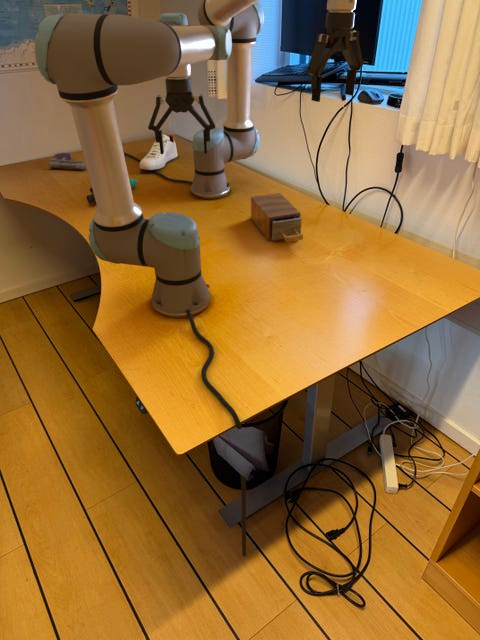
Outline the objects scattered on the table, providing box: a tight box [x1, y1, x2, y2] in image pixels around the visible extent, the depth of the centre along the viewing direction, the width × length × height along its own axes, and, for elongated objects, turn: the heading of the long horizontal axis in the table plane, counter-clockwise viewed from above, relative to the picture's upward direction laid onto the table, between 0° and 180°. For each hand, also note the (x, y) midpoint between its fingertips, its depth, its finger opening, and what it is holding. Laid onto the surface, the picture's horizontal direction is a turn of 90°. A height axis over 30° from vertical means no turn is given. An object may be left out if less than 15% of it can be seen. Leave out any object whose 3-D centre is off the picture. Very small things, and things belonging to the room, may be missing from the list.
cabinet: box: [250, 192, 301, 241], centre depth 160 cm, size 18×11×8 cm, turn 17°
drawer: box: [271, 216, 304, 243], centre depth 155 cm, size 23×10×6 cm, turn 17°
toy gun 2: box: [86, 178, 138, 204], centre depth 187 cm, size 4×26×15 cm
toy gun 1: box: [47, 152, 86, 171], centre depth 216 cm, size 4×19×15 cm
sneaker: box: [139, 133, 179, 171], centre depth 214 cm, size 10×29×12 cm, turn 163°
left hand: (184, 152), depth 148 cm, fingers open, 13 cm apart
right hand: (332, 97), depth 139 cm, fingers open, 13 cm apart
